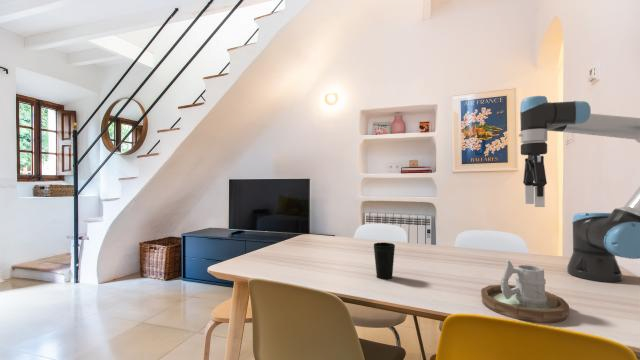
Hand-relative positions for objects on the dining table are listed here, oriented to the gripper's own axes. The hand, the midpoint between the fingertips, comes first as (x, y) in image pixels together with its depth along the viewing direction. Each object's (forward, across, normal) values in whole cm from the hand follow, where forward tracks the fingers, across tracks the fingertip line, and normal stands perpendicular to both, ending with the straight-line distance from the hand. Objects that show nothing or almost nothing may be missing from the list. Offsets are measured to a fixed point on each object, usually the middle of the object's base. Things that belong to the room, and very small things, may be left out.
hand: (534, 205), depth 108 cm
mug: (+26, +25, -8) cm, 37 cm away
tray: (+27, +24, -8) cm, 37 cm away
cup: (+27, +11, -49) cm, 57 cm away
